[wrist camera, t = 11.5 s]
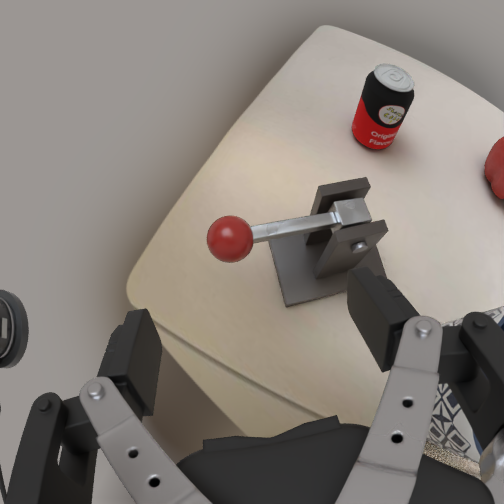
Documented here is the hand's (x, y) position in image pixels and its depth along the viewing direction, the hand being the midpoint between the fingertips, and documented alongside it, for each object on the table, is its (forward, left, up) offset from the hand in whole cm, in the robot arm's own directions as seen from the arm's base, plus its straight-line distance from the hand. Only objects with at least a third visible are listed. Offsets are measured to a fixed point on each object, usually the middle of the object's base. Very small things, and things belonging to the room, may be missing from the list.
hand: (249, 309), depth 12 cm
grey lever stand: (+11, -4, -23) cm, 26 cm away
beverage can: (+31, -6, -23) cm, 39 cm away
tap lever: (+8, 0, -13) cm, 15 cm away
